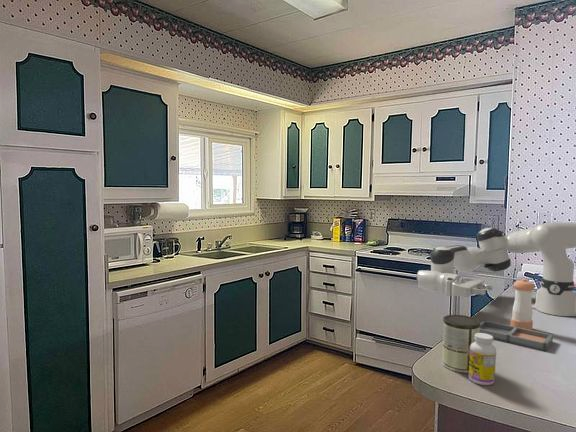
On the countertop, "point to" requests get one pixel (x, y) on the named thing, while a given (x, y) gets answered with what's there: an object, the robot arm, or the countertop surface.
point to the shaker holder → (517, 335)
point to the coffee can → (458, 341)
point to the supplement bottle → (482, 359)
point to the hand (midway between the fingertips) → (488, 290)
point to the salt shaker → (522, 305)
